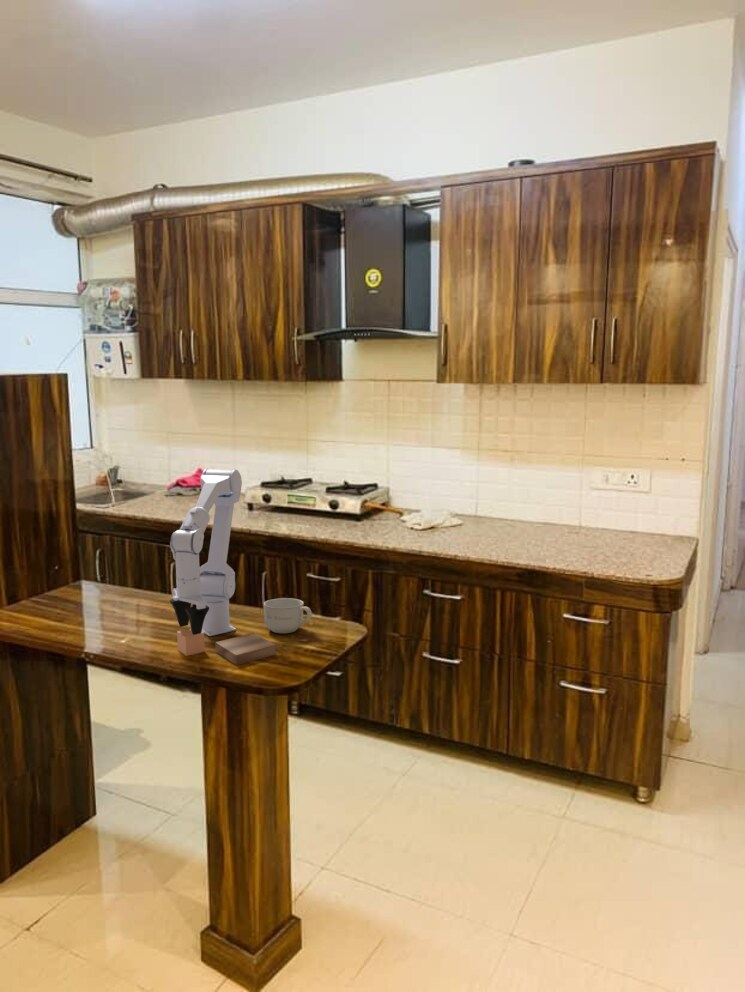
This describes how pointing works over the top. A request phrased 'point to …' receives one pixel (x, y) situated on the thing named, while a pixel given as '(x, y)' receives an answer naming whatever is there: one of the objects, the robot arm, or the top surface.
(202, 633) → the terracotta block
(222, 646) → the walnut slab
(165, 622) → the top surface
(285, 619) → the teacup
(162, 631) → the top surface
